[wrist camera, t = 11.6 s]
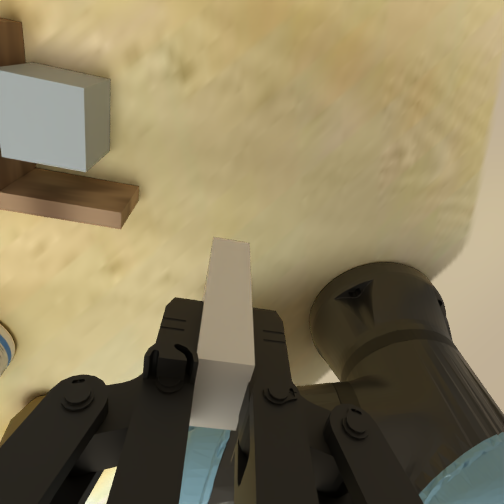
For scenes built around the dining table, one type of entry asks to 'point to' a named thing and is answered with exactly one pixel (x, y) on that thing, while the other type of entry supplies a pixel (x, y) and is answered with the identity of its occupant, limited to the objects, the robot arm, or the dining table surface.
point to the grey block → (54, 116)
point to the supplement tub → (5, 349)
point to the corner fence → (56, 173)
